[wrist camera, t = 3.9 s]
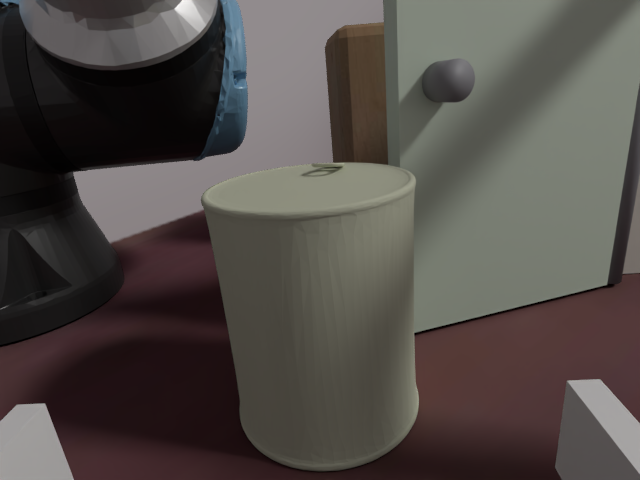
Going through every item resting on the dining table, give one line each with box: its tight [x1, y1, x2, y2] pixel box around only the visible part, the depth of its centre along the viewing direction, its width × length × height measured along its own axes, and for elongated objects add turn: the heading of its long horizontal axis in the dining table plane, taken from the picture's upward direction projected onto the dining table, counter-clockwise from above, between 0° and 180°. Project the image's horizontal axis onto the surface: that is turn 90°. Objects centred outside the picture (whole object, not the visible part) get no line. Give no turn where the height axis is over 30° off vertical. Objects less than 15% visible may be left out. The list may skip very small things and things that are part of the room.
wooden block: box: [325, 22, 388, 165], centre depth 43 cm, size 10×10×20 cm
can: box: [201, 163, 419, 471], centre depth 20 cm, size 9×9×12 cm
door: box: [383, 0, 640, 333], centre depth 26 cm, size 5×18×21 cm, turn 106°
